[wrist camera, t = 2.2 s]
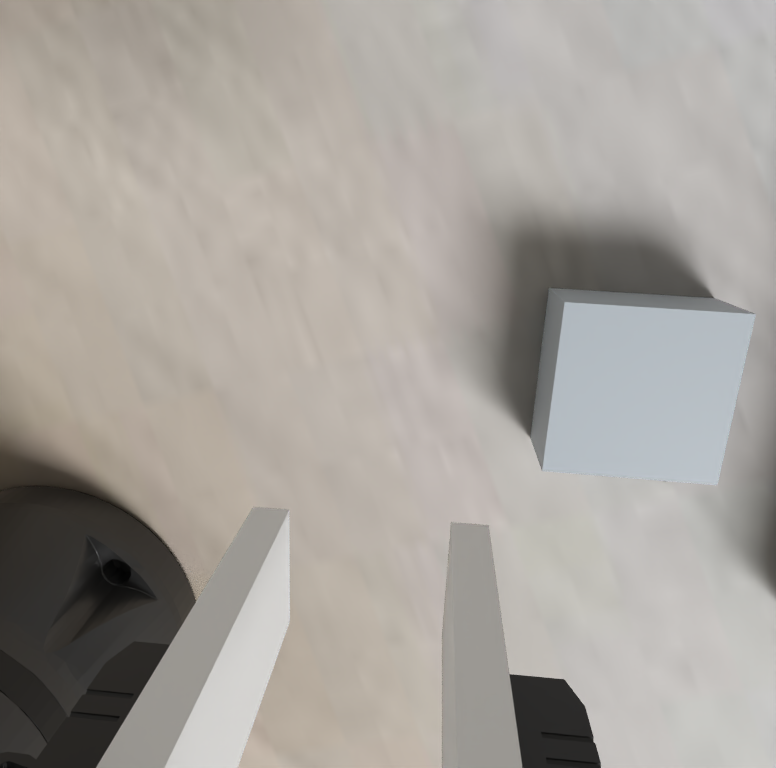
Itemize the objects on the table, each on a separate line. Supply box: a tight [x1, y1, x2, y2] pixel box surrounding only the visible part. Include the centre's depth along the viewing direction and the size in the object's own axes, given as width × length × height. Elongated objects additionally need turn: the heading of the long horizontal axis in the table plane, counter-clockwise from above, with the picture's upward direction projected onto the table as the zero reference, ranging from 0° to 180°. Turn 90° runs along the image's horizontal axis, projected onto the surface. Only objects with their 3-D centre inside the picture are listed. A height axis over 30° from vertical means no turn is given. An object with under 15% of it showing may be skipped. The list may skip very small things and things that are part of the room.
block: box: [530, 288, 756, 485], centre depth 27 cm, size 7×7×4 cm
